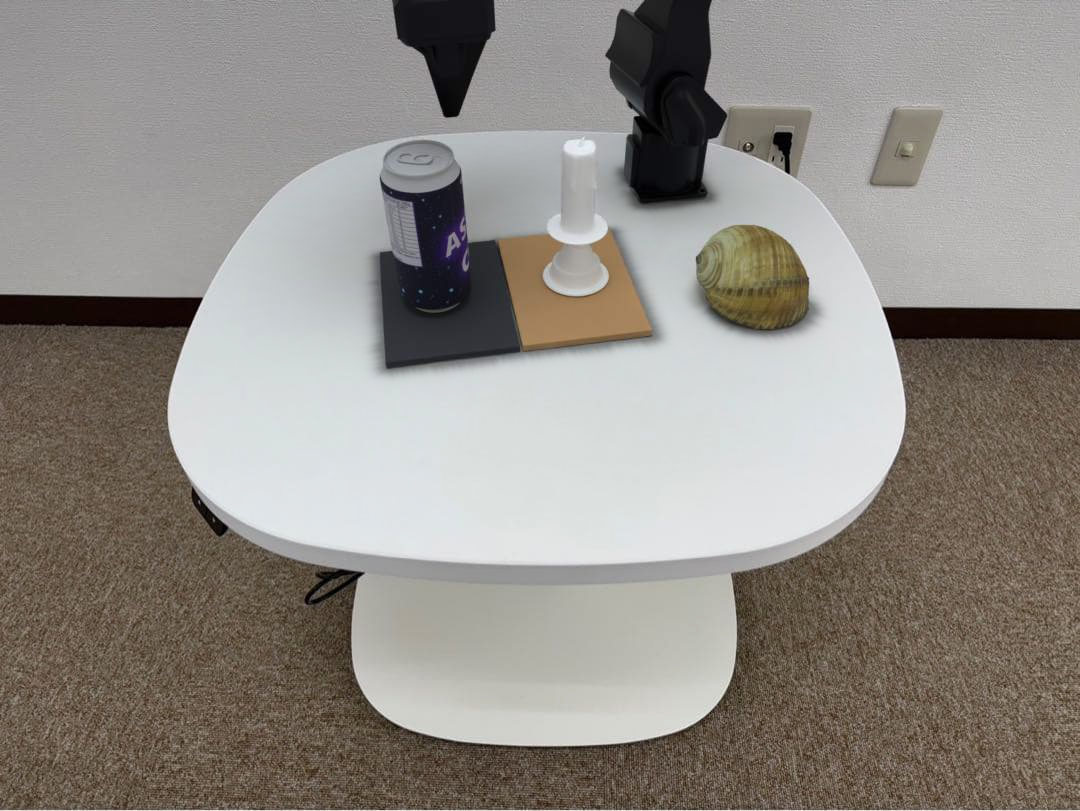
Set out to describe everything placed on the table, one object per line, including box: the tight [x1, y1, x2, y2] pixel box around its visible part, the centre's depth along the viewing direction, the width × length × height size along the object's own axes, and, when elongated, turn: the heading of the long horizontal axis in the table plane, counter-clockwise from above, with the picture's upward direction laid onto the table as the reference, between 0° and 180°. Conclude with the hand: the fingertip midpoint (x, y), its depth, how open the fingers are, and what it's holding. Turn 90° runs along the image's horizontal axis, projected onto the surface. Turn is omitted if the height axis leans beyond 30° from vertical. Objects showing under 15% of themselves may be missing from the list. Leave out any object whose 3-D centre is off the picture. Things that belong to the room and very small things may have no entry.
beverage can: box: [379, 139, 472, 313], centre depth 59 cm, size 6×6×12 cm
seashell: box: [695, 224, 810, 331], centre depth 62 cm, size 10×7×8 cm
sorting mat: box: [379, 227, 653, 369], centre depth 64 cm, size 20×14×1 cm
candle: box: [543, 136, 609, 297], centre depth 60 cm, size 5×5×12 cm
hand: (444, 89), depth 61 cm, fingers open, 9 cm apart
